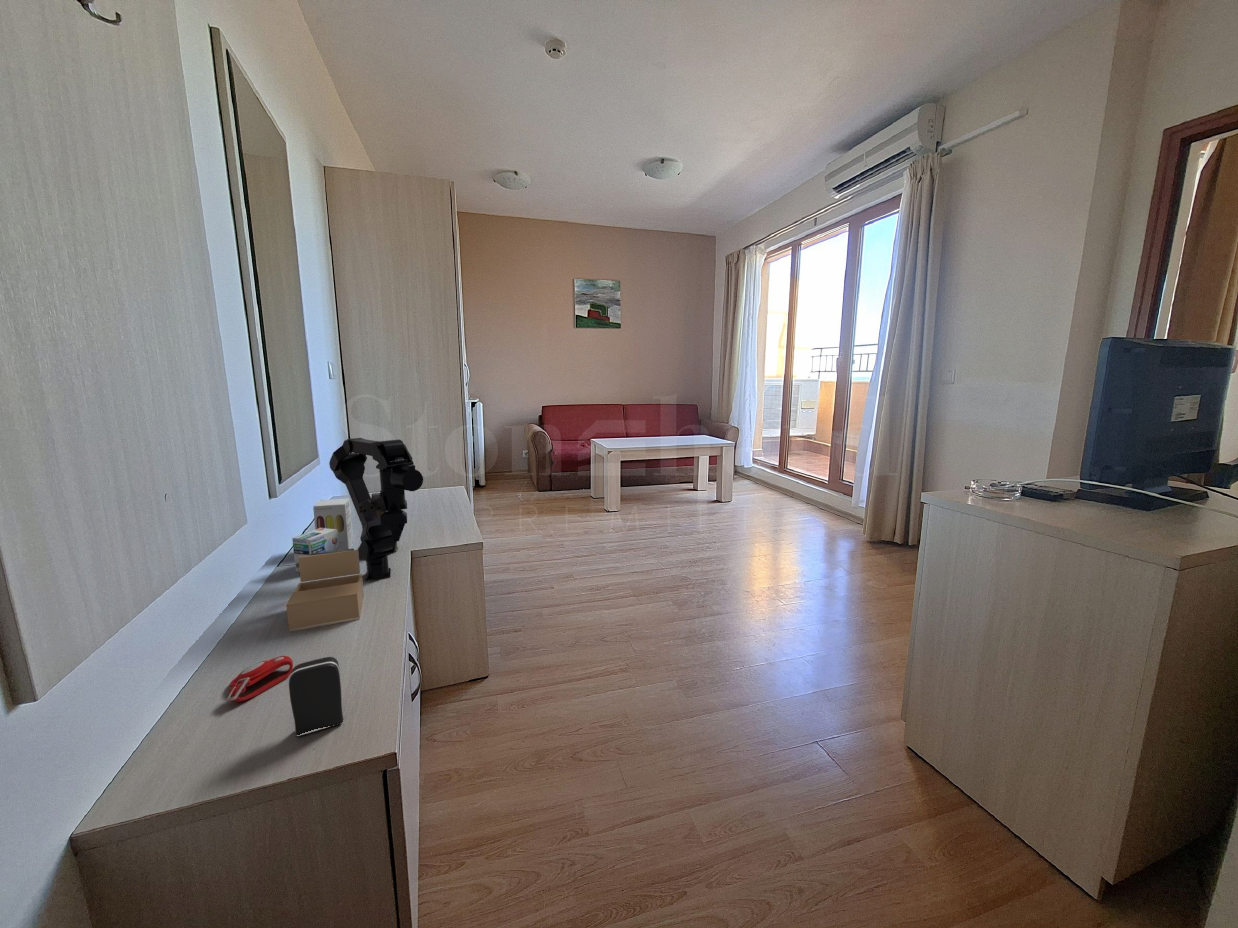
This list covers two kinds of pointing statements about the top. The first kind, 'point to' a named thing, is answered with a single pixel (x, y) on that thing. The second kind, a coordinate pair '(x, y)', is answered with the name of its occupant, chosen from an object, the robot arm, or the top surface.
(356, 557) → the carton flap
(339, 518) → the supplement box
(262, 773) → the top surface
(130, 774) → the top surface
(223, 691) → the top surface
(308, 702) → the battery charger
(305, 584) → the kraft carton
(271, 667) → the tracker holder
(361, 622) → the top surface
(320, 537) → the light bulb box
